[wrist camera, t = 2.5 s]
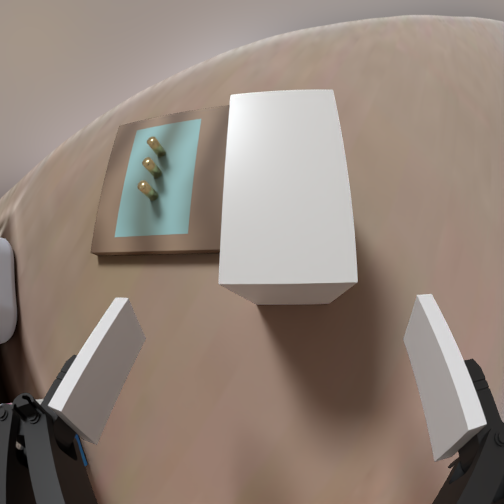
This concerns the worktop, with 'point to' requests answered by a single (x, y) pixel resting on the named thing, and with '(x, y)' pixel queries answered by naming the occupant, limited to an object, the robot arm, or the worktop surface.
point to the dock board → (165, 187)
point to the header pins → (151, 169)
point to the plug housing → (286, 200)
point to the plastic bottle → (7, 292)
